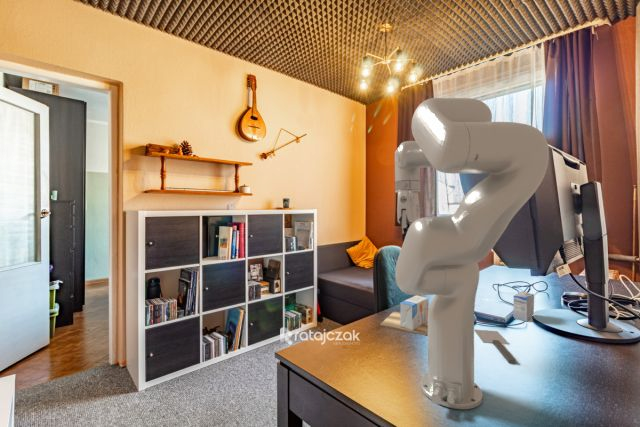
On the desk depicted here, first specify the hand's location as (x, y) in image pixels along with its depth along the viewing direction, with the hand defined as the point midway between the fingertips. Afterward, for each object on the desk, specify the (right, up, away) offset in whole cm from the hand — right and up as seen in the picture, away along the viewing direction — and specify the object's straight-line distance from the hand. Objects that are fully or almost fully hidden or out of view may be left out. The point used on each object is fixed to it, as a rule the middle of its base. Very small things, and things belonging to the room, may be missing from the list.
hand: (408, 246), depth 92 cm
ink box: (+1, -24, +8) cm, 26 cm away
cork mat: (+4, -29, +14) cm, 33 cm away
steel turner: (+26, -29, -3) cm, 39 cm away
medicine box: (+48, -29, +18) cm, 59 cm away
